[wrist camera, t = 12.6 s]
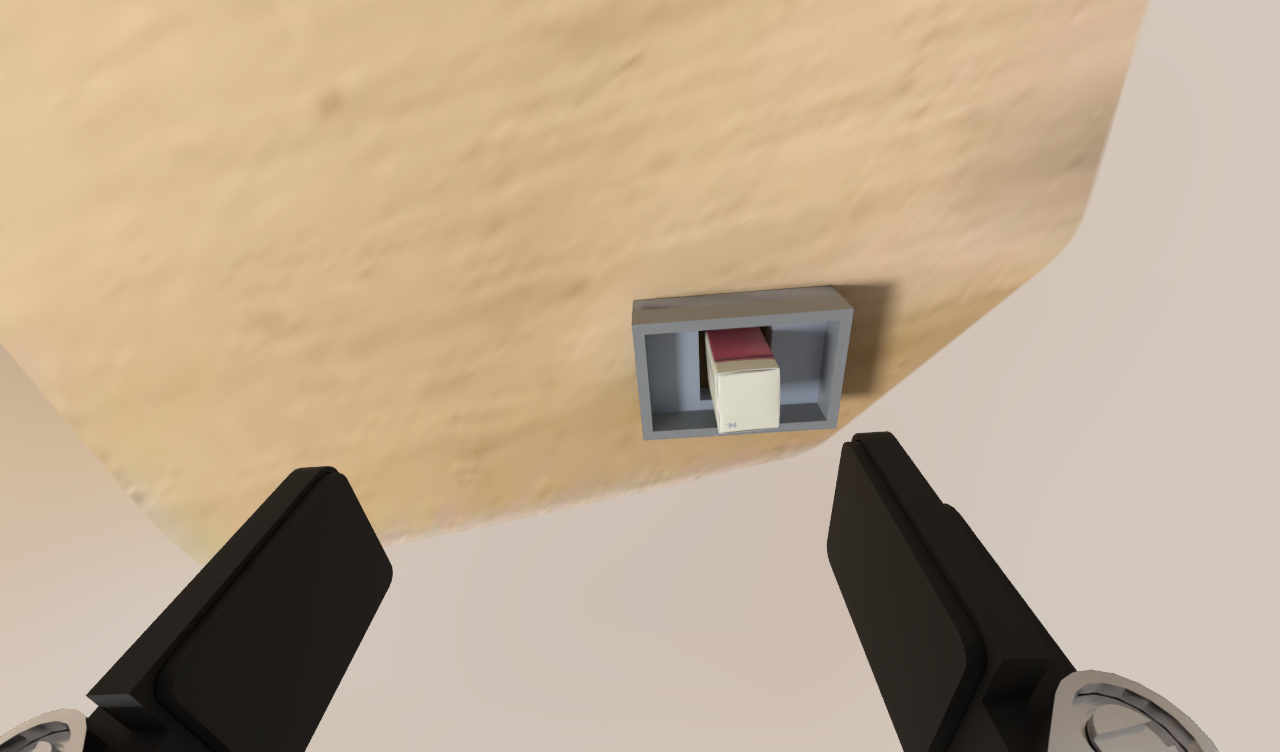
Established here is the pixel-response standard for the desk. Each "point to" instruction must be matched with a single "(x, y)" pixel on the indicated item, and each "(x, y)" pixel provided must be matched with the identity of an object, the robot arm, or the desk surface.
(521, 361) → the desk surface
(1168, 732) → the robot arm
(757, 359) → the small box
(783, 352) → the walled box
